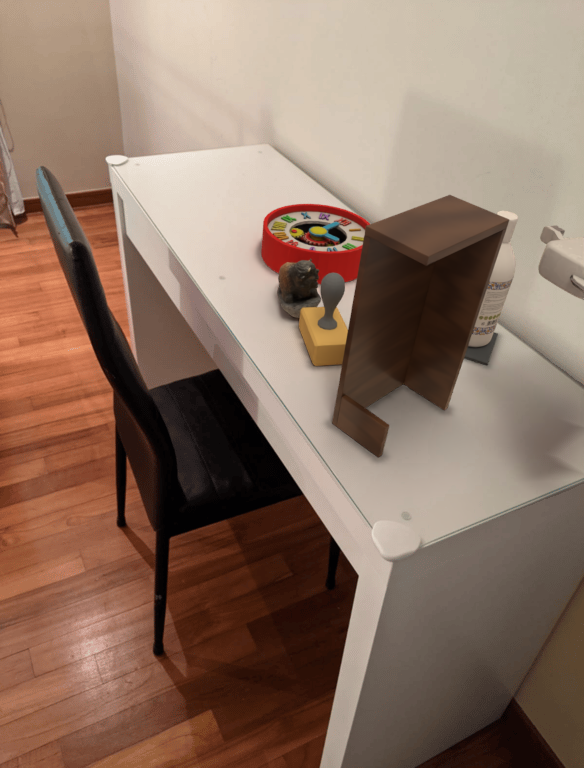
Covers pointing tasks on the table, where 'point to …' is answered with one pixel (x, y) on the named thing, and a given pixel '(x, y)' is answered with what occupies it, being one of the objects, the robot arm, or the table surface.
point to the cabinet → (414, 308)
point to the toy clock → (314, 238)
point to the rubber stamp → (325, 324)
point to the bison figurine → (298, 286)
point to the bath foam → (496, 287)
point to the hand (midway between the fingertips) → (578, 227)
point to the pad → (481, 351)
